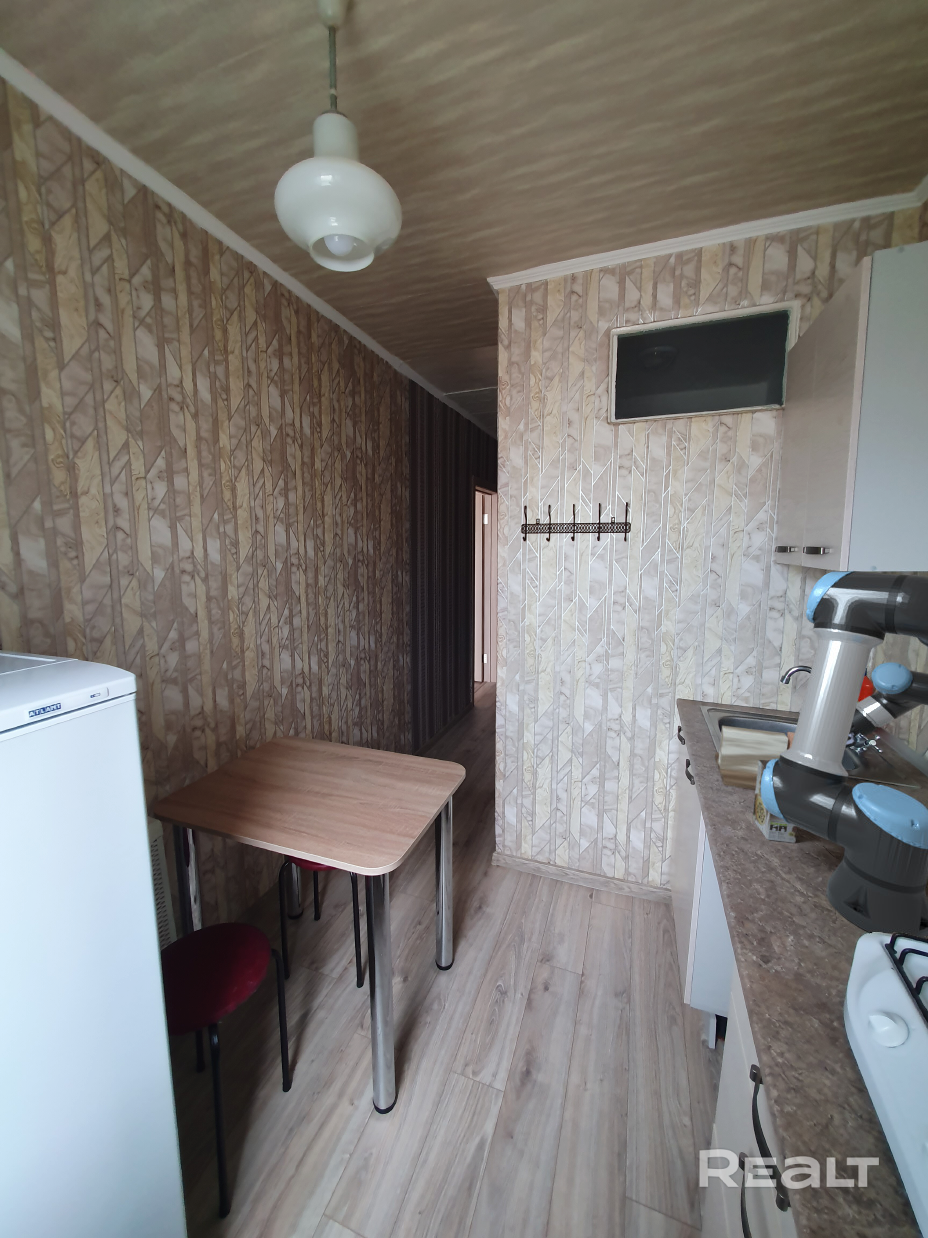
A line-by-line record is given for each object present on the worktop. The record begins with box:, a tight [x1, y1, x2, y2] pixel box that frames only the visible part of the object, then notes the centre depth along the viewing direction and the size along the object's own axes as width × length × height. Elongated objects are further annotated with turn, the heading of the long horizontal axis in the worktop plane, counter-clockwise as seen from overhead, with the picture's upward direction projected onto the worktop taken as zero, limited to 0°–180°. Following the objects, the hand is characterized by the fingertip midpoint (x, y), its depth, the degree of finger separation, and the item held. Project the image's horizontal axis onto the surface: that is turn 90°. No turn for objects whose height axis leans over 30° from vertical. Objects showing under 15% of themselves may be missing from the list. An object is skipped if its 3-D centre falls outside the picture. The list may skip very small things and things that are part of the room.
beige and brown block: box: [714, 725, 788, 791], centre depth 137 cm, size 18×26×14 cm
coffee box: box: [752, 760, 799, 844], centre depth 113 cm, size 9×6×16 cm
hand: (786, 763), depth 136 cm, fingers closed on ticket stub, 4 cm apart
